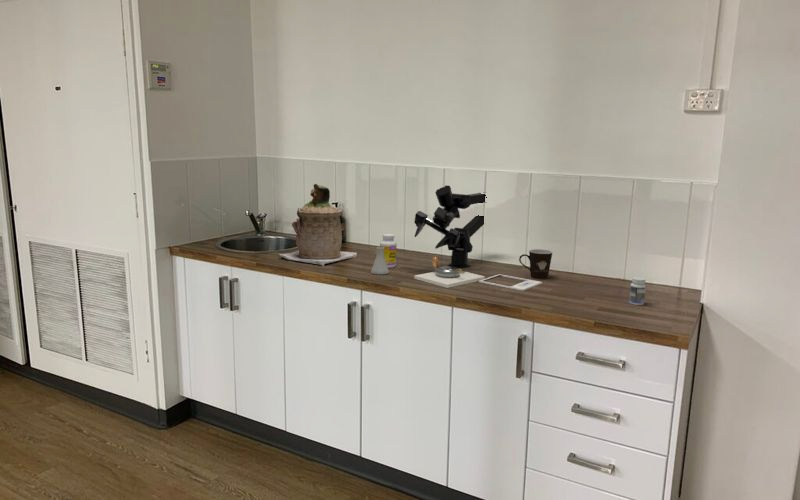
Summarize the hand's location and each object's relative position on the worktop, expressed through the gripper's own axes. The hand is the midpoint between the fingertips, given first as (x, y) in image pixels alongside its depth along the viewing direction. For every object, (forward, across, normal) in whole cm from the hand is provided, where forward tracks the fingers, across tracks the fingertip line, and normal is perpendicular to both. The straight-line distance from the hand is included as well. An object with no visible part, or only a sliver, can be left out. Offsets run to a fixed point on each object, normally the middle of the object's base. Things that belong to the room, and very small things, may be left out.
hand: (425, 241), depth 232 cm
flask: (+14, -10, +13) cm, 22 cm away
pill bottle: (-8, +75, -17) cm, 77 cm away
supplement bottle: (+5, -12, +20) cm, 24 cm away
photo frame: (-4, +35, +2) cm, 35 cm away
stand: (+6, +15, +5) cm, 17 cm away
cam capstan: (+5, +13, +5) cm, 15 cm away
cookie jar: (+12, -42, +32) cm, 54 cm away
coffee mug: (-16, +41, +8) cm, 44 cm away
